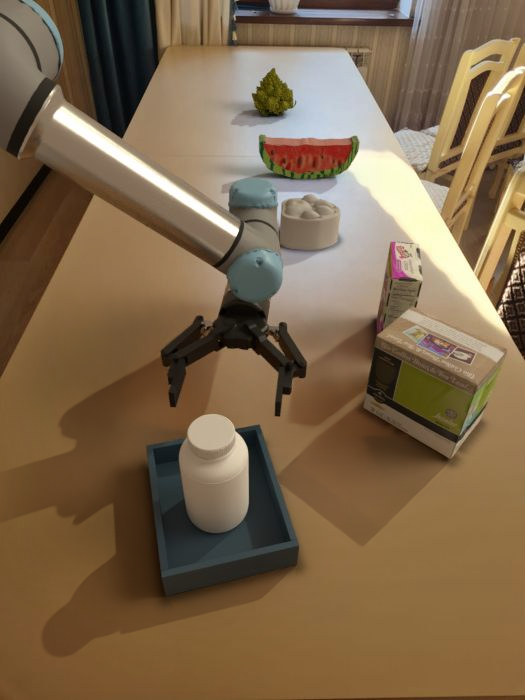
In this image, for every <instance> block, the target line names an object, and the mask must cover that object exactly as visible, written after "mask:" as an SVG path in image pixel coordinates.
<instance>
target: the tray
mask: <svg viewBox="0 0 525 700" xmlns="http://www.w3.org/2000/svg"><path fill="white" fill-rule="evenodd" d="M235 431H236V432H237V433H238V434H239V435H240V436H241V437H242V438H243V440H244V441H245V443H246V446H247V449H248V474H249V505H248V510H247V513H246V516H245V517H244V519H243V520H242V522H241V523H240V524H239V525H238V526H236V527H235V528H233V529H232V530H229V531H227V532H223V533H209V532H205V531H203V530H201V529H199V528H198V527H196V526H195V525H194V524H193V523H192V521H191V520H190V518H189V516H188V513H187V510H186V504H185V498H184V491H183V484H182V478H181V471H180V464H179V452H180V449H181V446H182V444H183V442H184V440H185V439H186V438H187V437H183V438H179V439H173V440H166V441H162V442H157V443H151V444H147V445H145V449H146V456H147V457H146V458H147V466H148V473H149V475H148V476H149V482H150V491H151V499H152V509H153V517H154V526H155V533H156V534H155V536H156V541H157V542H156V543H157V551H158V559H159V568H160V577H161V582H162V586H163V590H164V594H165V597H168V596H173V595H177V594H182V593H186V592H190V591H194V590H197V589H201V588H207V587H210V586H214V585H218V584H223V583H227V582H230V581H235V580H239V579H243V578H248V577H252V576H256V575H260V574H264V573H268V572H272V571H276V570H281V569H285V568H289V567H293V566H297V565H298V562H299V561H298V560H299V552H300V543H299V540H298V537H297V534H296V530H295V527H294V525H293V521H292V518H291V515H290V512H289V509H288V506H287V504H286V500H285V497H284V494H283V491H282V489H281V484H280V482H279V479H278V476H277V472H276V470H275V466H274V464H273V460H272V458H271V455H270V452H269V448H268V445H267V441H266V439H265V436H264V433H263V429H262V426H261V424H259V423H258V424H254V425H249V426H248V425H247V426H243V427H238V428H235Z"/></svg>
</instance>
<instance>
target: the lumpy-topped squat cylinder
mask: <svg viewBox="0 0 525 700" xmlns="http://www.w3.org/2000/svg"><path fill="white" fill-rule="evenodd" d="M341 212H342V211H341V208H339V207H338V205H336V204H335V203H333V202H330V201H329V200H326V199H322V198H318V197H317V196H316V195H314V194H312V193H311V194H310V193H309V194H305V195H303V196H302V197H291V198H287V199H284V200H282V202H281V209H280V220H279V221H280V222H279V223H280V226H279V242H280V246H282V247H283V248H286V249H291V250H300V251H302V250H303V251H318V250H319V251H320V250H324V249H328V248H330V247H332V246H334V245H336V243H337V242H338V238H339V231H340V221H341Z"/></svg>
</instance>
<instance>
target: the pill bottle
mask: <svg viewBox="0 0 525 700" xmlns="http://www.w3.org/2000/svg"><path fill="white" fill-rule="evenodd" d="M235 429H236V427H235V426H234V423H233V422H232V421H231V420H230V418H227V417H226V416H224V415H222V414H218V413H208V414H204V415H200V416H199V417H197V418H195V419H193V421H191V423H190V424H189V426H188V428H187V430H186V437H185V438H186V439H185V440H184V442H183V444H182V446H181V449H180V452H179V464H180V471H181V478H182V484H183V491H184V498H185V504H186V510H187V513H188V516H189V518H190V520H191V521H192V523H193V524H194V525H195V526H196V527H198V528H199V529H201V530H203V531H205V532H209V533H223V532H227V531H229V530H232V529H233V528H235V527H236V526H238V525H239V524H240V523H241V522H242V520H243V519H244V517H245V516H246V513H247V510H248V505H249V474H248V449H247V446H246V443H245V441H244V440H243V438H242V437H241V436H240V435H239V434H238V433H237V432H236V431H235Z"/></svg>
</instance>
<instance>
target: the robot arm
mask: <svg viewBox="0 0 525 700" xmlns="http://www.w3.org/2000/svg"><path fill="white" fill-rule="evenodd" d="M60 34H61V33H60V32H59V29H58V27H57V26H56V24H55V22H54V21H53V19H52V18H51V16H50V15H49V14H48V12H47V11H46V10H45V9H44V8H42V7H41V6H40V4H38V3H37V2H36V1H34V0H0V149H1V150H3V151H5V152H6V153H8V154H10V155H11V156H13V157H15V158H16V159H18V160H20V161H22V160H23V161H24V160H28V159H34V160H37V162H38V161H39V162H40V163H41V164H42V165H43V164H44V165H45V166H46V167H48V168H49V169H51V170H53V171H55V172H56V173H57V174H60V175H61V176H63V177H64V178H66V179H67V180H70V181H71V182H73V183H74V184H76V185H78V186H79V187H81V188H83V189H84V190H86V191H88V192H89V193H91V194H92V195H94V196H95V197H98V198H99V199H101V200H103V201H104V202H106V203H107V204H109V205H110V206H112V207H114V208H115V209H116V210H117V209H118V210H119V211H121V212H122V213H124V214H125V215H127V216H129V217H130V218H132V219H134V221H137V222H138V223H140V224H142V225H143V226H145V227H147V228H149V229H150V230H151V231H153V232H155V233H156V234H158V235H160V236H162V237H163V238H164V239H166V240H168V241H170V242H171V243H173V244H174V245H177V246H178V247H180V248H182V250H185V251H186V252H188V253H189V254H191V255H193V256H195V257H196V258H198V259H199V260H201V261H202V262H204V263H206V264H207V265H209V266H211V267H212V268H214V269H215V270H217V271H218V272H220V273H221V274H223V275H225V277H226V279H227V282H226V285H225V289H224V293H223V296H222V301H221V304H220V306H219V311H218V313H217V314H218V315H217V318H216V319H214V320H213V321H212V320H211V321H210V320H205V319H204V316H203V315H200V314H198V315H196V316H195V318H194V319H193V322H192V323H191V324H190V325H189V326H187V328H185V329H184V330H183V331H182V332H181V333H179V334H178V335H177V336H176V337H175V338H173V339H172V340H171V341H170V342H169V343H167V344H166V345H165V346H164V347H163V348H161V350H160V351H159V353H160V359H161V365H162V367H163V368H164V367H165V368H168V370H167V373H166V378H167V384H168V385H170V386H169V388H168V392H167V395H168V401H169V402H168V403H169V407H170V408H175V409H176V408H177V405H178V403H179V399H180V395H181V392H182V390H183V389H182V388H183V386H184V382H185V379H186V376H187V368H188V367H189V366H191V365H193V364H194V363H196V362H198V361H199V360H201V359H203V358H205V357H206V356H208V355H210V354H211V353H213V352H216V353H218V352H219V351H221V350H223V349H224V348H226V349H229V350H234V349H238V350H242V351H249V350H250V349H251V350H252V351H253V352H254V353H255V354H256V355H257V356H261V358H263V359H264V360H265V361H266V362H267V363H268V364H269V365H270V366H271V367H272V368H273V370H275V371H276V372H277V381H276V383H277V384H276V392H275V399H274V417H278V418H280V417H281V414H282V403H283V396H290V395H291V394H292V392H293V391H292V390H293V380H294V379H295V378H299V379H306V377H307V371H308V370H307V369H308V361H307V360H306V358H305V357H304V355H303V353H302V351H301V350H300V349H299V347H298V346H297V344H296V343H295V341H294V340H293V338H292V336H291V335H290V333H289V332H288V324H287V322H285V321H280V322H279V323H278V326H277V325H275V326H272V325H269V324H268V320H269V313H270V307H271V302H272V301H271V300H272V298H273V297H274V296H275V295H276V294H278V292H279V290H280V289H281V287H282V284H283V280H284V276H283V275H284V270H283V269H284V261H283V258H282V257H283V256H282V249H281V244H280V231H279V224H278V207H279V202H278V189H277V187H276V185H275V184H274V183H273V182H271V181H269V180H267V179H264V178H257V177H248V178H247V177H246V178H242V179H239V180H237V181H235V182H233V183H232V184H231V186H230V187H229V189H228V203H227V206H228V210H227V209H226V208H225V207H223V206H222V205H220V204H218V203H217V202H215V200H213V199H211V198H210V197H209V196H207V195H205V194H204V193H202V192H201V191H199V190H198V189H197V188H195V187H194V186H193V185H191V184H189V183H188V182H186V181H185V180H183V179H182V178H180V176H177V175H176V174H174V173H173V172H172V171H170V170H168V169H167V168H166V167H164V166H163V165H162V164H160V163H159V162H156V161H155V159H152V158H151V157H149V156H148V155H147V154H146V153H143V151H140V150H139V149H138V148H136V147H135V146H133V145H132V144H130V143H129V142H127V141H126V140H124V139H122V138H121V137H120V136H118V135H117V134H116V133H114V132H112V131H111V130H109V129H108V128H107V127H105V126H104V125H102V124H101V123H99V122H98V121H96V120H95V119H94V118H92V117H90V116H89V115H88V114H86V113H85V112H83V111H82V110H80V109H78V108H77V107H76V106H75V105H73V104H71V103H70V102H68V101H67V100H66V98H65V97H64V93H63V90H62V87H61V85H60V84H58V83H56V82H55V81H56V80H57V78H58V77H59V75H60V73H61V69H62V65H63V63H64V44H63V40H62V38H61V35H60ZM269 336H271V337H272V338H273V340H274V342H275V343H278V345H279V346H278V347H279V348H280V349H278V347H277V346H276V345H274V344H273V343H272V342H271V340H269V339H268V337H269Z"/></svg>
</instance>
